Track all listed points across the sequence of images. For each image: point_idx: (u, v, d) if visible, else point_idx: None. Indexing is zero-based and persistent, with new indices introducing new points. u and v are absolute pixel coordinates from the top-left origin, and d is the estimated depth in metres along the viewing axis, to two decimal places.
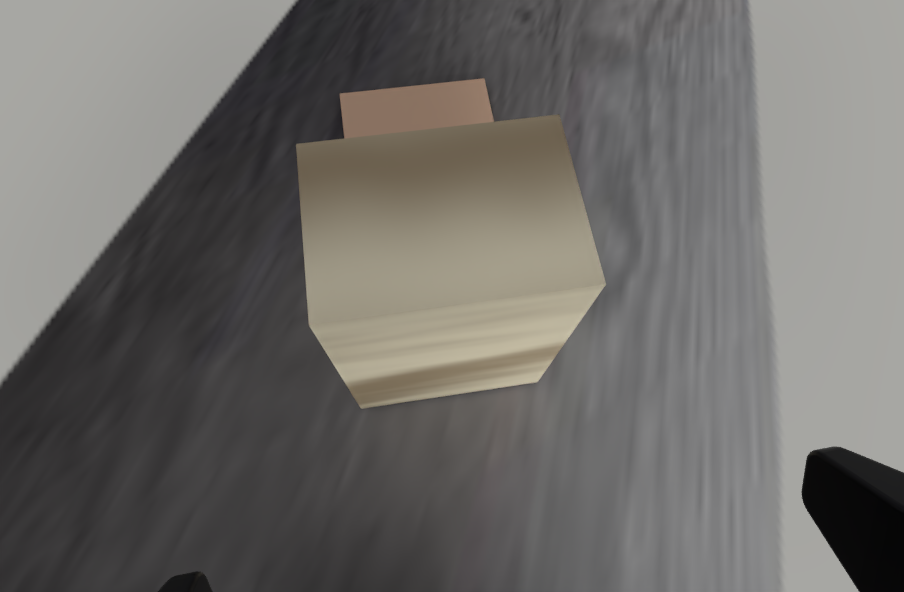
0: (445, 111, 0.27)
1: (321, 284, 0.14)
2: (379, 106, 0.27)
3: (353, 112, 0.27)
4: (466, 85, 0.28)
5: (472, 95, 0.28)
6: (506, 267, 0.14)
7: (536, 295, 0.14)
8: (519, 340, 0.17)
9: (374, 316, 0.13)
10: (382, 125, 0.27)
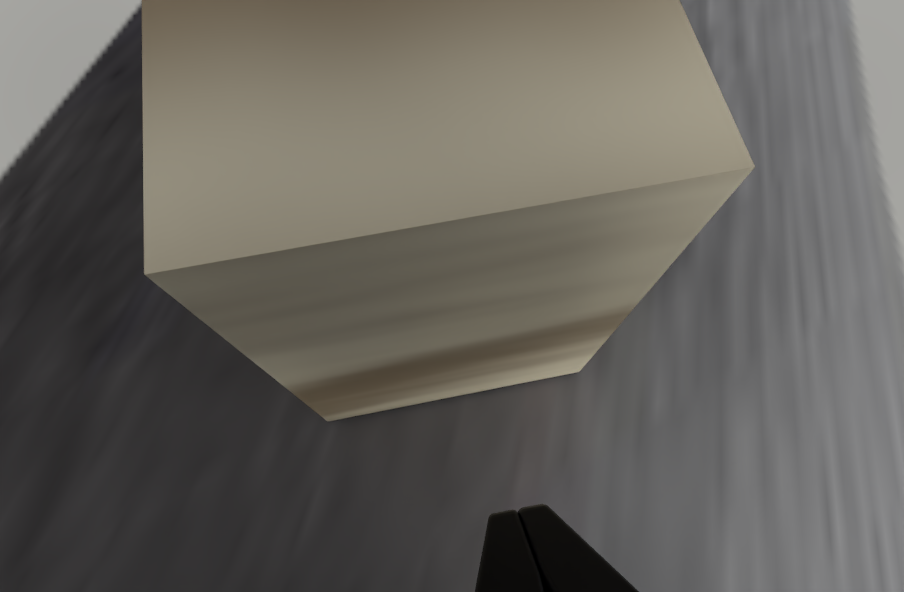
0: None
1: (175, 193, 0.07)
2: None
3: None
4: None
5: None
6: (550, 145, 0.07)
7: (616, 195, 0.07)
8: (564, 303, 0.10)
9: (283, 250, 0.06)
10: None
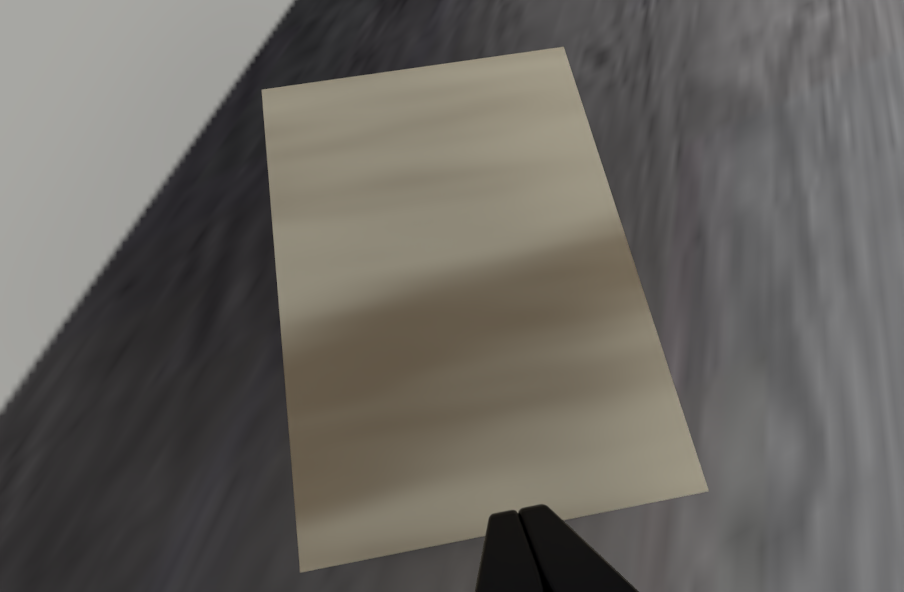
0: None
1: None
2: None
3: None
4: None
5: None
6: None
7: (494, 59, 0.13)
8: (533, 194, 0.12)
9: (327, 80, 0.13)
10: None
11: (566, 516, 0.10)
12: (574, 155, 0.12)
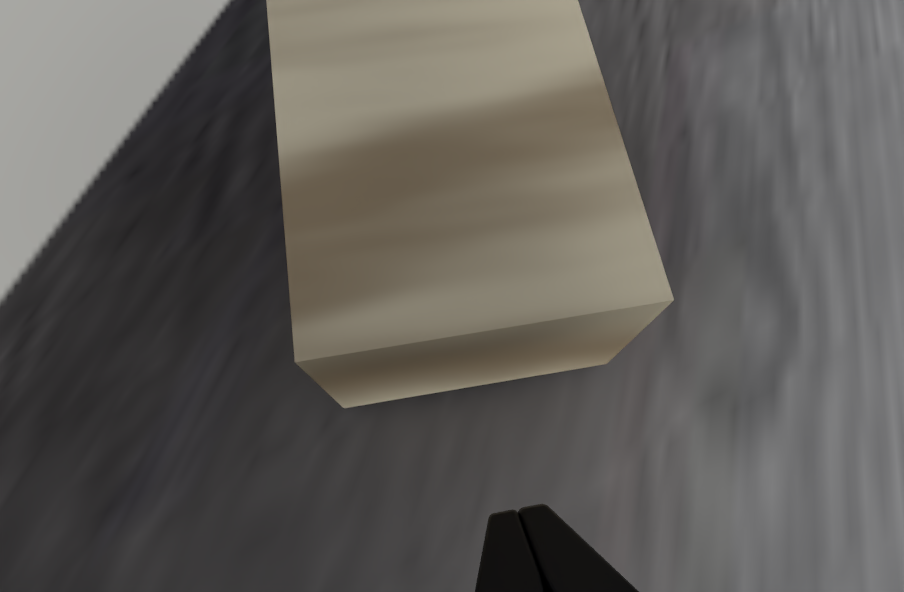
0: None
1: None
2: None
3: None
4: None
5: None
6: None
7: None
8: (518, 47, 0.13)
9: None
10: None
11: (541, 319, 0.11)
12: (559, 14, 0.13)
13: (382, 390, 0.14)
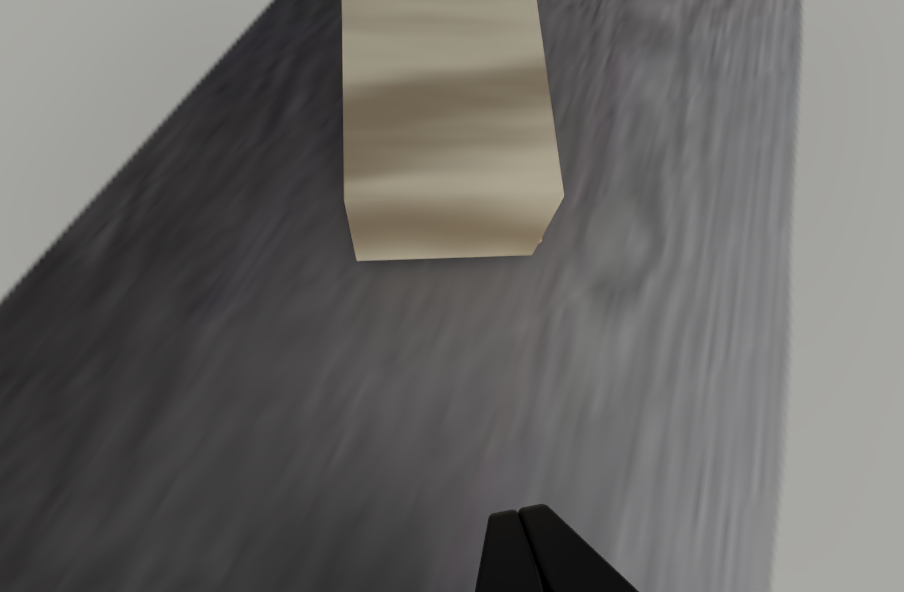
0: None
1: None
2: None
3: None
4: None
5: None
6: None
7: None
8: (497, 38, 0.20)
9: None
10: None
11: (487, 196, 0.18)
12: (525, 20, 0.21)
13: (385, 246, 0.22)
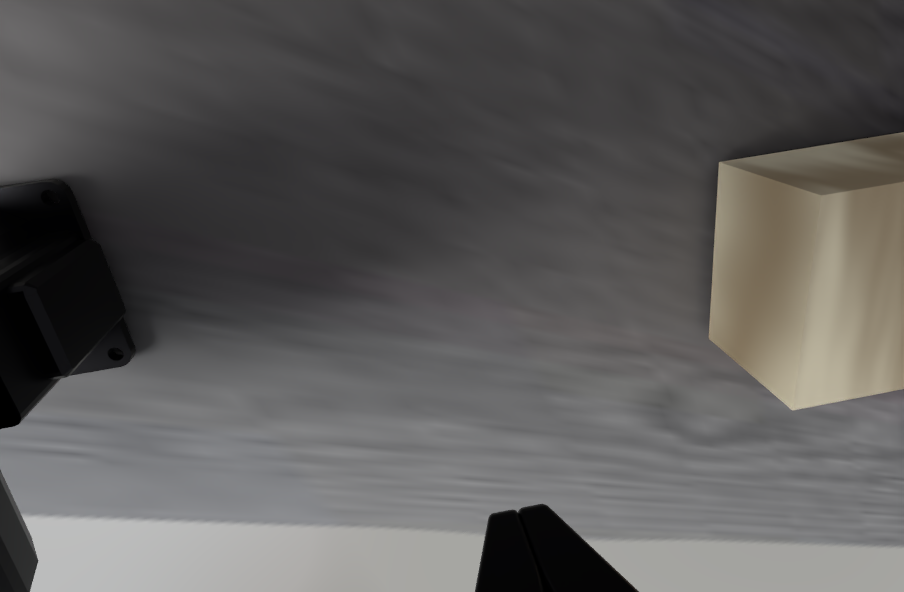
0: None
1: None
2: None
3: None
4: None
5: None
6: None
7: None
8: None
9: None
10: None
11: (803, 341, 0.17)
12: None
13: (739, 204, 0.19)
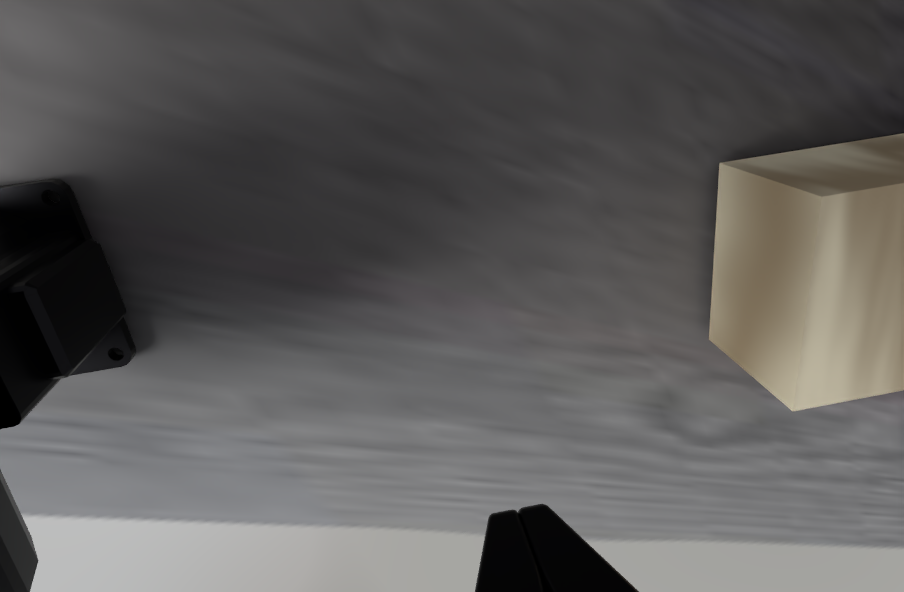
0: None
1: None
2: None
3: None
4: None
5: None
6: None
7: None
8: None
9: None
10: None
11: (804, 342, 0.17)
12: None
13: (740, 205, 0.19)
